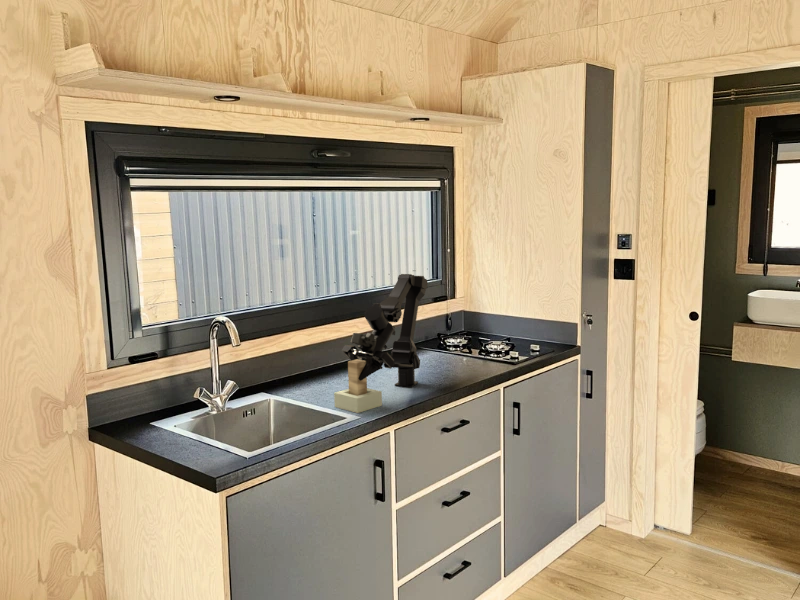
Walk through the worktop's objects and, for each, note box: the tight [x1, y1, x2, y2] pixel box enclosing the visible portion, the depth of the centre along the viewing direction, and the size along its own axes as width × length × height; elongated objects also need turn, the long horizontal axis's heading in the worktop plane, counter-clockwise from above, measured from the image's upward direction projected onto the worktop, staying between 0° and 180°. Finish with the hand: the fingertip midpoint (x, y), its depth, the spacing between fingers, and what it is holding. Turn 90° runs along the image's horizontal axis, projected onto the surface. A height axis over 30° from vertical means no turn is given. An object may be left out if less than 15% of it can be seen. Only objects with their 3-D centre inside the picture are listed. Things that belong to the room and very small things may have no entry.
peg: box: [347, 359, 368, 396], centre depth 221 cm, size 4×4×12 cm
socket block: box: [333, 387, 383, 414], centre depth 222 cm, size 10×10×4 cm
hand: (354, 378), depth 220 cm, fingers open, 4 cm apart
